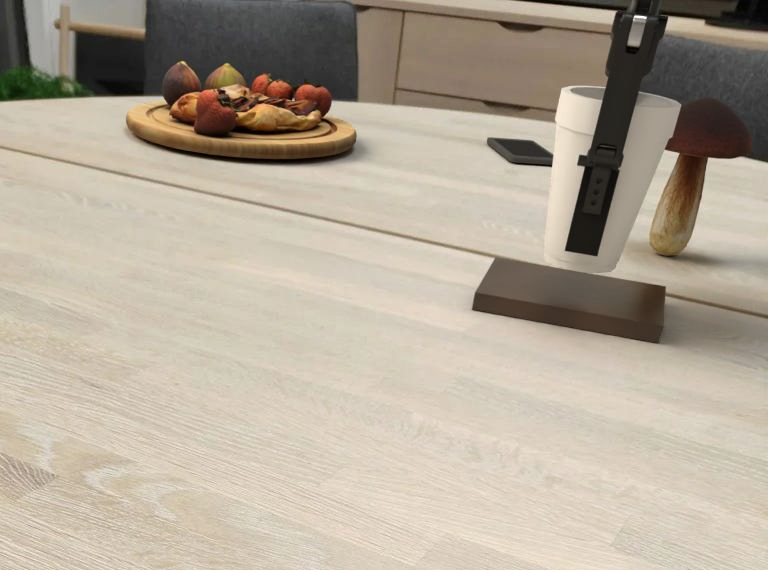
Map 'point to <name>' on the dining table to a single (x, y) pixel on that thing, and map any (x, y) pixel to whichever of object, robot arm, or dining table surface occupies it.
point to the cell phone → (521, 151)
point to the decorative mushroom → (694, 168)
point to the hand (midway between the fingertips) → (585, 238)
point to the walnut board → (573, 299)
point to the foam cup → (636, 172)
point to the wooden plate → (241, 117)
